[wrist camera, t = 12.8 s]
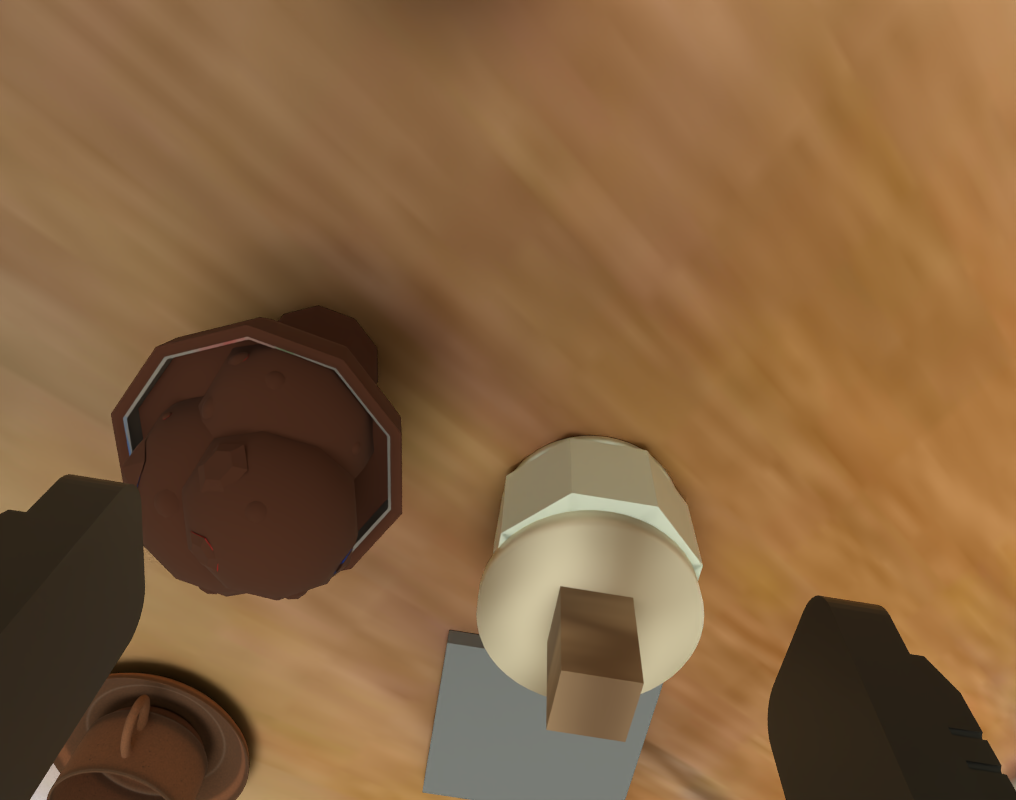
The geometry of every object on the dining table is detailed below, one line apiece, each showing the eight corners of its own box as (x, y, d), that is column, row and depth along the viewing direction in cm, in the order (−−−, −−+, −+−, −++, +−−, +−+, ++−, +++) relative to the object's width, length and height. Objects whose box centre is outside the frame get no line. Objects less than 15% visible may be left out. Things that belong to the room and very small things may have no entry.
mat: (424, 778, 52) (422, 792, 52) (449, 630, 47) (447, 642, 46) (616, 807, 53) (617, 821, 52) (663, 663, 47) (665, 676, 46)
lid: (464, 666, 41) (450, 775, 35) (496, 493, 36) (486, 586, 31) (669, 698, 41) (687, 811, 36) (726, 530, 37) (757, 629, 31)
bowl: (488, 569, 45) (480, 642, 40) (515, 421, 41) (510, 482, 36) (655, 596, 45) (667, 672, 40) (699, 451, 41) (719, 516, 36)
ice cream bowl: (336, 201, 37) (210, 332, 23) (480, 398, 41) (444, 608, 27) (158, 323, 40) (-45, 502, 26) (308, 496, 44) (199, 729, 30)
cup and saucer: (32, 658, 50) (-33, 743, 44) (230, 648, 49) (189, 734, 43) (98, 799, 55) (48, 891, 50) (278, 792, 54) (247, 886, 48)
